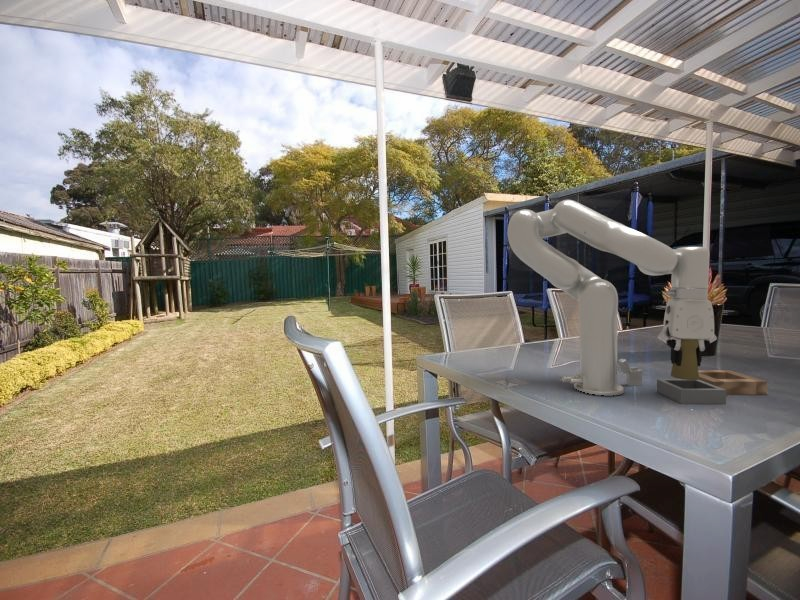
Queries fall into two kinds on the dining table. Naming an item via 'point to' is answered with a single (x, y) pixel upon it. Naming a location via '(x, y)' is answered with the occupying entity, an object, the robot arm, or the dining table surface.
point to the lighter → (631, 373)
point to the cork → (687, 361)
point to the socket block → (734, 382)
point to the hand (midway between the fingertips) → (685, 364)
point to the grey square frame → (691, 391)
